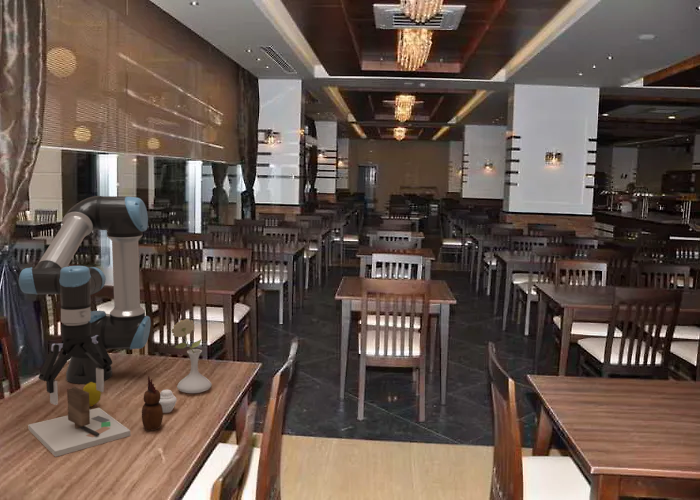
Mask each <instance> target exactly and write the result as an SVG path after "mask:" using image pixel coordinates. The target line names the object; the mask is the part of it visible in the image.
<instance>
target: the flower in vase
mask: <svg viewBox="0 0 700 500" xmlns="http://www.w3.org/2000/svg"><path fill="white" fill-rule="evenodd" d="M194 323H195V322H194V320H190V319H189V318H187V319H186V318H185V319H183V320H182V319H181V320H180V321H178V322H176V323H175V324H174V325H173V328H172V329H171V333H172V336H173V337H175V338H177V337H178V338H184V337H185V341H186V342H180V343H178V344H177V345H175V347H174V349H185V348H186V347H187V346H188V347H189V349H187V350H186V353H187V355H188V356H189V360H190V371H189V373H188V374H187V375H186V376H185V377H183V378H182V379H181V380H180V381H179V382H178V383H177V385H176V387H177V390H178V391H180V392H182V393H185V394H186V393H187V394H200V393H202V392H205V391H208V390H210V389H211V387H212V382H211V381H210V380H209V379H208V378H207V377H206V376H204V375H203V374H202V373H200V371H199V359H200V358H199V357H200V355H201V353H202V352H203V350H202V349H199V348H197V347H199V346H200V345H201V342H202V339H199V340H196V341H195V342H193V343H192V344H191V345H190V344H189V343H188V337H187V336H188V335H190V334H191V333H192V332H193V330H194V329H195V324H194Z"/></svg>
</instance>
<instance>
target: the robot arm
mask: <svg viewBox="0 0 700 500" xmlns="http://www.w3.org/2000/svg"><path fill="white" fill-rule="evenodd" d="M148 215H149V214H148V211H147V207H146V204H145V202H144V201H143V200H142V199H141V198H140V197H137V196H136V197H133V196H129V195H128V196H124V195H123V196H114V195H113V196H108V195H107V196H103V195H94V196H90V197H87V198H85V199H83V200H81V201H79V202H78V203H76V204H75V205H73V206H72V207H71V208H70V209H69V210H68V211H67V212H66V213H65V214H64V217H63V218H62V223H61V224H62V226H61V227H60V229H58V231H57V233H56V235H55V236H54V238H53V240H52V241H51V242H50V244H49V246H48V247H47V249H46V250H45V252H44V253H43V255H42V257H41V258H40V260H39V261H38V263H37V264H36V265H35V267H32V266H31V267H26V268H23V269H22V270H21V271H20V273H19V277H18V285H19V289H20V290H21V292H22V293H24V294H30V295H37V296H38V295H60V322H61V323H62V324H61V325H60V327H61V328H60V332H61V335H60V336H61V342H60V343H54V342H52V343H49V344H50V345H49V351H48V355H47V357H46V359H45V362H44V363H43V366H42V368H41V370H40V373H39V375H38V379H39V380H41V381H44V382H46V392H47V393H48V394H49V403H50V404H51V405H54V406H57V405H59V400H58V399H59V398H58V397H59V396H58V394H59V391H58V390H59V389H58V380H56V378H57V377H58V376H59V374H60V372H61V371H62V370H63V368H64V367H65V365H66V363H67V362H68V361H69V363H68V365H67V369H66V372H65V380H66V381H67V382H68V383H71V384H78V385H79V384H82V385H84V384H85V385H86V384H88V383H90V382H93V383H96V390H98V391H100V392H101V393H103V392H105V382H104V381H106V380H108V379H110V378H111V377H112V376H113V367H112V364H113V361H112V358H111V357H110V354H109V353H108V351H107V350H139V349H143V348H144V347H146V345H147V343H148V339H149V336H150V331H151V323H152V322H151V321H152V320H151V317H150V316H149V315H146V312H145V309H144V308H142V307H141V299H140V298H141V294H140V293H141V291H140V290H141V289H140V262H139V261H140V259H139V257H140V256H139V255H140V254H139V241H140V239H141V238H142V237H143V232H146V231H147V229H148V227H149V226H148V225H149V224H148V222H149V217H148ZM93 231H106V237H107V238H108V239H109V240H111V250H112V254H111V255H112V256H111V257H112V279H113V283H112V284H113V301H114V302H113V306H114V307H113V309H112V310H111V311H110V312H109V315H107V313H106V311H105V310H93V311H91V296H92V295H94V294H96V293H99V292H100V291H101V290H102V289H103V288H104V287H105V284H106V281H107V279H106V275H105V272H104V271H103V270H101V269H100V268H98V267H95V266H90V267H89V266H85V265H70V263H71V261H72V259H73V258H74V256H75V254H76V252H77V251H78V249H79V247H80V246H81V244H82V242H83V241H84V238H85V237H86V236H89V235H90V234H91V233H92V232H93ZM69 265H70V266H69ZM61 349H62V350H61ZM58 356H59V357H58ZM57 358H58V359H57Z"/></svg>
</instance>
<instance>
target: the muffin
mask: <svg viewBox="0 0 700 500" xmlns="http://www.w3.org/2000/svg"><path fill="white" fill-rule="evenodd" d="M177 400H178V399H177V397H176V396H175V395H174V393H173V391H172V390H171V389H162V390H161V391H160V401H159V403H160V404H161V405H162V410H163V414H168V413H171V412H173V409H174V407H175V406H176V403H177Z"/></svg>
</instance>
